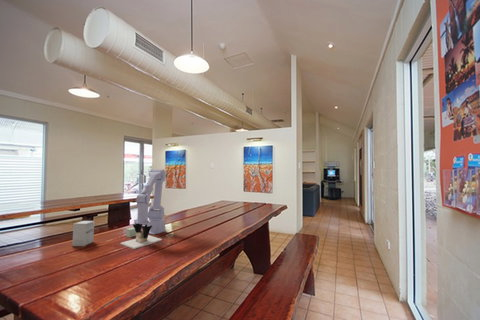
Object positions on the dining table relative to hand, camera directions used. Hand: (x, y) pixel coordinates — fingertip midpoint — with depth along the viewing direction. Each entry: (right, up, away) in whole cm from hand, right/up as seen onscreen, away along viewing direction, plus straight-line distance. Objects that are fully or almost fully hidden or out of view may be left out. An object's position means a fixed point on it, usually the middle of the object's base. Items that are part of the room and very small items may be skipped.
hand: (141, 236), depth 126 cm
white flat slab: (0, -3, 0) cm, 3 cm away
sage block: (-13, -4, +12) cm, 18 cm away
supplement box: (-32, -3, -4) cm, 33 cm away
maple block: (0, -2, 0) cm, 2 cm away
